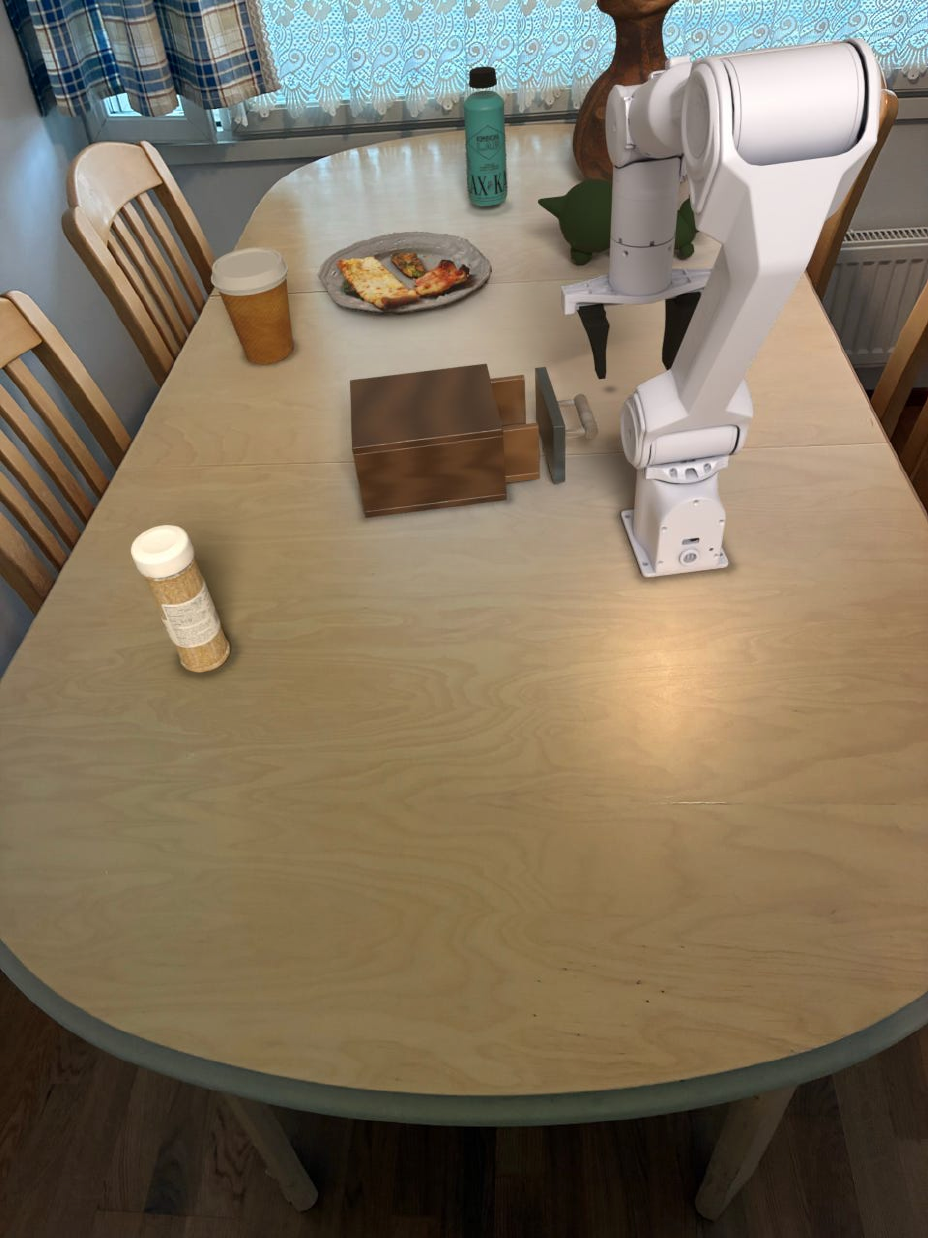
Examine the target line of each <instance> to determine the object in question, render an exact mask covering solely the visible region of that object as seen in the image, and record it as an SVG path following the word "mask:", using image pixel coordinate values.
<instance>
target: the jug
mask: <svg viewBox="0 0 928 1238" xmlns="http://www.w3.org/2000/svg"><path fill="white" fill-rule="evenodd" d="M679 1H680V0H596V2H595V4H596V7H597V9H598V10H599V11H600V12H601V13H603V14H605V15H608V16H609V17H611V19H612V20H613V24H614V29H615V45H614V53H613V56H612V60H611V62H610V64H609V66H608V67H607V68H606V69H605V70H604V71H602V73H601V74H600V75H599V76H598V77H597V78H596V79H595V81H594V82H593V83H592V84H591V86H590V88H589V89H588V91H587V93H586V94H585V97H584V99H583V101H582V103H581V106H580V108H579V111H578V113H577V116H576V120H575V124H574V125H575V126H574V128H573V133H572V152H573V157H574V160H575V163H576V166H577V168H578V170H579V172H580V174H581V175H582V176H583V177H585V178H586V179H587V180H589V179H601V180H604V181H607V182H610V183H611V184H613V163H612V162H611V159H610V157H609V153H608V148H607V141H606V106H607V100H608V96H609V93H610V91H611V90H612V89H613V87H614V85H621V86H624V87H625V86H634V85H641V84H644V83H646V82H647V81H648V76H649V74H651V73H652V72H654V71H662V70H665V62H666V61H667V60H668V59H669V58H668V56H667V54H666V51H665V43H664V35H663V27H664V22H665V19H666V16H667V15H668V12H669V11H670V9H671V8H672V7H673V6H674V5H675V4H676V3H678V2H679ZM685 178H687V175H686V176H685Z"/></svg>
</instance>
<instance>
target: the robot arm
mask: <svg viewBox="0 0 928 1238" xmlns="http://www.w3.org/2000/svg"><path fill="white" fill-rule="evenodd" d="M880 70H881V69H880V65H879V63H878V60H877V58H876V56H875V54H874V52H873V49H872V48H871V46H870V44H869V43H868V42H867V41H866V40H864V39H863V38H860V37H851V38H844V39H843V40H842V41H840V42H839V43H838V42H837V43H833V42H815V43H804V44H793V45H783V46H782V45H781V46H772V47H765V48H757V49H749V50H741V51H733V52H725V53H719V54H717V53H716V54H713V55H707V56H703V57H698V58H695V59H693V60H691V55H679V56H672V57H670V58H668V60H667V61H666V62H665V70H662V71H654V72H652V73H651V74H649V76H648V81H647V82H646V83H644V84H641V85H634V86H625V87H624V86H621V85H614V87H613V89H612V90H611V91H610V93H609V96H608V100H607V106H606V141H607V148H608V153H609V157H610V159H611V162H612V163H613V187H612V212H611V238H610V248H609V264H608V272H609V273H607V274H604V275H601V276H597V277H595V278H591V279H588V280H585V281H581V282H577V283H573V284H569V285H561V287H560V306H561V309H562V312H563V314H564V316H567V315H574V314H576V312H577V315H578V316H579V317H578V318H579V319H580V322H581V324H582V326H583V328H584V331H585V332H586V335H587V338H588V341H589V345H590V349H591V352H592V357H593V359H592V360H593V365H594V372H595V374H596V377H597V379H598V380H606V378H607V347H608V339H609V332H610V327H611V324H610V322H609V320H608V318H607V311H606V310H605V307H611V306H612V307H613V306H620V305H621V306H622V305H635V306H637V305H641V306H642V305H650V304H655V303H658V302H662V301H664V311H665V312H664V317H665V318H664V331H663V339H662V346H661V363H662V365H663V366H664V369H665V371H663V372H662V373H660V374H657V375H655V376H653V377H651V378H650V379H646V381H643V382H641V383H640V384H638V385H636V387H635V390H634V393H633V394H629V395H628V396H627V397H626V399H625V401H624V403H623V404H622V406H621V409H620V415H619V417H620V418H619V419H620V420H619V428H620V430H619V431H620V438H621V444H622V448H623V451H624V455H625V458H626V460H627V462H628V463H630V464H631V465H632V466H633V468H635V469H636V481H635V482H636V483H635V496H634V509H626V510H625V509H624V510H622V511H621V513H620V518H621V520H622V523H623V525H624V529H625V531H626V534H627V537H628V539H629V540H628V541H629V542H630V545H631V548H632V550H633V553H634V556H635V558H636V561H637V564H638V567H639V570H640V572H641V575H642V576H643V577H644V578H655V577H663V576H669V575H677V574H685V573H693V572H700V571H701V572H702V571H708V570H716V569H724V568H727V567H728V566H729V562H730V561H729V559H728V557H727V555H726V552H725V550H724V549H723V540H724V533H725V528H726V523H727V522H726V521H727V513H726V509H725V507H724V504H723V502H722V499H721V497H720V492H719V477H720V471H721V470H722V469H726V468H728V466H729V461H730V456H736V455H738V454H740V453H741V451H742V449H743V448H744V446H745V444H746V442H747V440H748V437H749V432H750V424H751V422H752V420H753V418H754V417H755V416H754V414H755V409H754V402H753V398H752V394H751V390H750V388H749V385H748V382H747V380H746V377H745V376H746V375H747V373H748V371H749V370H750V368H751V366H752V364H753V363H754V361H755V359H756V357H757V356H758V354H759V352H760V350H761V349H762V346H763V345H764V343H765V342H766V340H767V338H768V336H769V335H770V333H771V331H772V329H773V327H774V326H775V324H776V322H777V321H778V320H779V319H778V318H779V317H780V315H781V313H782V312H783V310H784V308H785V306H786V305H787V303H788V302H789V300H790V298H791V296H792V295H793V292H794V291H795V289H796V287H797V286H798V283H799V282H800V280H801V278H802V276H803V275H804V273H805V271H806V269H807V267H808V266H809V263H810V260H811V258H812V256H813V253H814V250H815V248H816V246H817V243H818V240H819V238H820V235H821V232H822V231H823V227H824V225H825V222H826V221H827V220H828V219H829V218H831V217H832V216H833V215H834V214H836V213H837V212H838V211H839V209H840V208H841V206H842V204H843V203H844V201H845V199H846V197H847V195H848V194H849V192H850V190H851V189H852V186H853V185H854V183H855V182H856V180H857V177H858V176H859V174H860V172H861V171H862V169H863V167H864V166H865V164H866V162H867V160H868V159H869V156H870V155H871V153H872V151H873V149H874V148H875V146H876V144H877V142H878V134H879V129H880V111H881V109H880V108H881V101H882V75H881V71H880ZM686 175H687V176H686ZM685 176H686V177H685ZM686 178H687V185H688V187H687V188H688V196H689V195H690V203H691V208H692V210H693V211H694V218H695V226H696V229H697V230H698V231H700V232H699V233H701V234H703V235H705V236H707V237H709V238H711V239H712V240H714V241H716V242H718V243H719V244H721V247H720V249H719V252H718V254H717V257H716V259H715V262H714V263H713V266H712V267H707V268H677V267H676V268H675V267H674V268H673V265H674V263H673V262H674V254H675V250H674V243H675V231H676V220H677V210H679V208H678V207H679V196H680V187H681V186H680V185H681V182H683V181H685V180H686Z"/></svg>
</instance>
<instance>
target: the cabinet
mask: <svg viewBox="0 0 928 1238" xmlns="http://www.w3.org/2000/svg"><path fill="white" fill-rule="evenodd" d="M491 379H492V378H491V375H490V371H489V367H488V363H479V364H471V365H463V366H455V367H447V368H438V369H430V370H424V371H414V372H406V373H398V374H389V375H382V376H375V377H366V378H359V379H358V378H357V379H351V380H349V395H350V398H349V399H350V432H351V433H350V435H351V437H350V438H351V450H352V451H351V452H352V456H353V462H354V466H355V472H356V476H357V482H358V488H359V491H360V497H361V502H362V507H363V512H364V516H365V518H366V519H367V518H374V517H383V516H390V515H399V514H407V513H415V512H422V511H423V512H424V511H430V510H438V509H445V508H452V507H454V508H455V507H461V506H462V507H463V506H469V505H477V504H486V503H493V502H494V503H495V502H500V501H507V500H508V499H507V483H506V479H505V461H504V443H503V428H502V424H501V420H500V416H499V412H498V408H497V404H496V399H495V395H494V391H493V387H492V383H491Z"/></svg>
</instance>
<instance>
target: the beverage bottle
mask: <svg viewBox="0 0 928 1238" xmlns="http://www.w3.org/2000/svg"><path fill="white" fill-rule="evenodd" d="M496 71H497V70H496V68H495V67H492V66H477V67H473V68H472V69H470V70H469V78H468V87H470V88H471V89H476V90H480V91H475V92H472V93H470V94H469V95H468V96H467V98H466V99H465V100H464V102H463V106H462V107H463V108H462V109H463V117H464V135H465V136H464V137H465V144H464V146H465V156H464V158H465V160H466V163H465V166H466V169H465V172H466V184H467V185H466V187H467V188H466V189H467V193H468V199H469V202H470V203H471V204H472V205H475V206H479V207H489V206H496V205H499V204H501V203H504V202H505V201H506V200H507V198H508V197H507V196H508V191H509V190H508V189H509V185H508V183H509V181H508V178H509V177H508V170H507V161H508V160H507V159H508V158H507V157H508V154H507V151H508V149H507V147H506V146H507V144H506V143H507V142H506V141H507V140H506V139H507V135H506V126H505V124H506V123H505V100H504V99H503V97H502V96H501V95H500V94H499V93H497V92H496V91H494V90H482V89H490V88H494V87H495V86H497V85H498V79H497V72H496Z"/></svg>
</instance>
